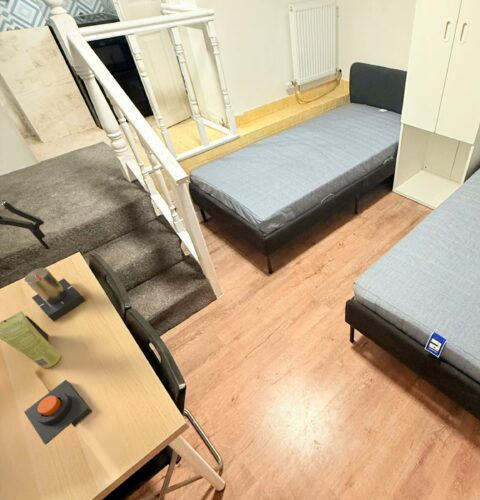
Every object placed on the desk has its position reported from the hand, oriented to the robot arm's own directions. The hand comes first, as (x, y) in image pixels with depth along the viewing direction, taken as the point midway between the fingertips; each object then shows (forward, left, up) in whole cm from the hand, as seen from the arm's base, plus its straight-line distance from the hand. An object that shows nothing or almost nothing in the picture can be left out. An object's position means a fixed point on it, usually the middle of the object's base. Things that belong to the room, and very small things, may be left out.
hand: (20, 261), depth 92 cm
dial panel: (-3, 0, -21) cm, 21 cm away
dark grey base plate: (+33, -16, -21) cm, 42 cm away
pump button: (+34, -16, -17) cm, 41 cm away
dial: (-2, 0, -18) cm, 18 cm away
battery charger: (+9, -11, -21) cm, 25 cm away
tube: (+16, -11, -21) cm, 29 cm away
